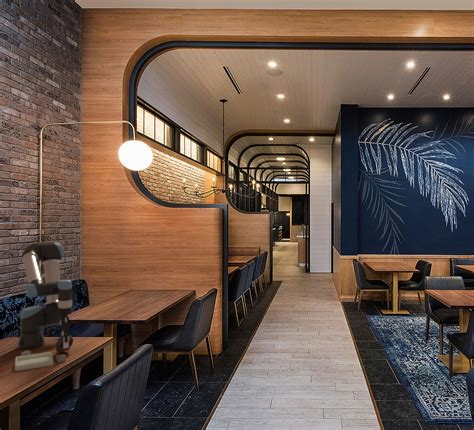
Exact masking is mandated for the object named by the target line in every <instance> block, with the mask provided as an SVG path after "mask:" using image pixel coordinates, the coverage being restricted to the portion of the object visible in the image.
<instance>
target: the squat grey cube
mask: <svg viewBox="0 0 474 430" xmlns="http://www.w3.org/2000/svg"><path fill="white" fill-rule="evenodd" d="M55 361H56V362H57V363H62V362H66V361H67V355H65V354H64V353H61V354H57V355H56V356H55Z"/></svg>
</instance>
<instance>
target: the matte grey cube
mask: <svg viewBox="0 0 474 430" xmlns="http://www.w3.org/2000/svg"><path fill="white" fill-rule="evenodd" d="M25 355H32V351H31V350H23V351H22V352H20V356H25Z"/></svg>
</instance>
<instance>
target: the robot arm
mask: <svg viewBox="0 0 474 430" xmlns="http://www.w3.org/2000/svg"><path fill="white" fill-rule="evenodd" d="M20 257H21V258H20V259H21V262H22V264H24V268H25V272H26V273H25V274H26V277H27V282H28V284H26V287H25V293H26V296H27V298H38V297H45V296H46V302H45V304H44V307H42V305H33V306H28V307H24V308H23V309H22V310H21V311H20V336H19V339H18V340H17V348H18V349H20V350H30V349H36V348H41V347H43V346H44V345H45V344H46V339H45V336H44V333H43V328H44V327H51V326H52V327H53V326H59V325H61V327H60V328H61V337H63V349H64V348H69V335H70V332H69V330H70V329H69V326H70V323H69V322H70V317H69V315H72V313H73V298H72V297H73V284H72V283H73V282H72V280H71V279H61V276H60V265H59V264H60V263H61V262H62V260H63V258H64V249H63V246H62V244H61V243H60V242H58V241H55V242H54V241H51V242H48V241H47V242H34V243H33V242H32V243H30V244H29V245H27V246H26V247H25V248H24V249H23V251H22V253H21V255H20ZM39 261H41V265H43V266H44V279H45V282H44V281H43V280H44V279H43V276H42V272H41V268H40V265H39Z"/></svg>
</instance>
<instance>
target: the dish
mask: <svg viewBox="0 0 474 430" xmlns="http://www.w3.org/2000/svg"><path fill="white" fill-rule="evenodd" d="M52 353H53V352H52V351H48V352H39V353H34V354H33V353H31V355H25V356H21V355H18V356H15V361H14V372H20V371H28V370H33V369H39V368H47V367H53V366H54V358H53V354H52Z"/></svg>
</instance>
